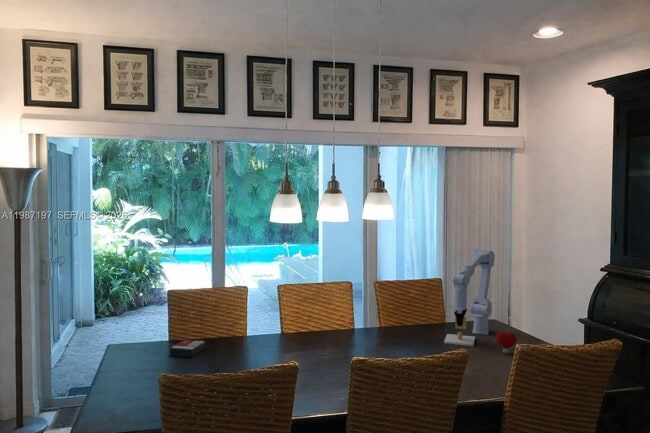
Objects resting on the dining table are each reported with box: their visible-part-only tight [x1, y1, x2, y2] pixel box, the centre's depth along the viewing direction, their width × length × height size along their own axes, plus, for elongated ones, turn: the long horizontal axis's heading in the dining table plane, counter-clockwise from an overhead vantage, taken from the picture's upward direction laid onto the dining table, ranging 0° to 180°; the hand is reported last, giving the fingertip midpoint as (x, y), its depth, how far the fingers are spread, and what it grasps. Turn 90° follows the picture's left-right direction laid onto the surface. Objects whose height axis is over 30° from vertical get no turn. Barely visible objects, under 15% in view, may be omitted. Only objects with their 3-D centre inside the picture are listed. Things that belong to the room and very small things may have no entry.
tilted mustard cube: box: [454, 316, 467, 330], centre depth 268 cm, size 5×5×5 cm
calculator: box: [169, 339, 206, 358], centre depth 248 cm, size 11×4×15 cm
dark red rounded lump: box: [495, 331, 518, 355], centre depth 248 cm, size 9×7×10 cm
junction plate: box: [443, 331, 476, 347], centre depth 268 cm, size 14×14×4 cm
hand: (460, 324), depth 268 cm, fingers closed on tilted mustard cube, 5 cm apart
